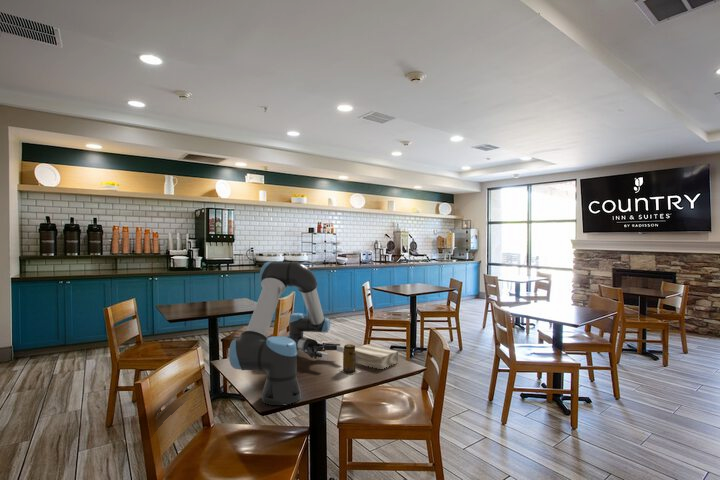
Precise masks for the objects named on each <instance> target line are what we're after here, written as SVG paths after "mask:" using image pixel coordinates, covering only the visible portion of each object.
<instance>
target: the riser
mask: <svg viewBox="0 0 720 480" xmlns="http://www.w3.org/2000/svg"><path fill="white" fill-rule="evenodd" d="M355 351H356V364H359V365H361V366H362V365H363V366H366V367H368V366H369V368H372V367H373V369H375V368H377V369H376V370H379V369H383V370H385V369H387V368H390V367H392V366H394V365H393V364H395V365H397V364H399V351H398V350H395V349H391V348H386V347H382V346H379V345H373V344H370V343H366V344H364V345H361V346H358V347H357V346H356V347H355ZM396 363H397V364H396ZM391 365H392V366H391ZM389 366H390V367H389ZM386 367H387V368H386ZM384 368H385V369H384Z"/></svg>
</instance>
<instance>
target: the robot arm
mask: <svg viewBox="0 0 720 480" xmlns="http://www.w3.org/2000/svg"><path fill="white" fill-rule="evenodd" d="M258 277H259V278H258V279H259V283H260V286H261V288H262V289H261V292H260V294H259V297H258V298H257V299H258V300H257V302H256V305H255V307H254V310H253V313H252V315H251V317H250V320H249V323H248V325H247V328H246V330H243V331H242V332H241V334H240V336H239V338H234V339H232V340H231V342H230V346H229V348H228V349H229V350H228V360H229V364H230V366H231V367H232V368H233V369H235V370H241V371H253V372H254V371H255V372H266V380H265V383H264V386H263V389H262V393H261V402H262V401H263V402H264V403H263V402H262V403H263V404H265V403H266V404H265V405H267V404H269V405H268V406H270V405H283V404H290V405H292V404H291V403H293V404H295V403H297V402H299V401H300V400H301V398H302V392H301V391H302V390H301V388H300V384H299V381H298V377H297V373H298V372H297V368H298V367H297V364H298V363H297V362H298V360H297V359H298V358H297V357H298V356H297V355H298V352H302V353H303V354H307V355H308V356H309V358H310V359H312V358H314V359H315V360H316V359H317V358H318V359H319V358H320V359H323V360H325V361H326V360H328V359H329V357H328V356H329V354H328V353H327V352H326V351H336V352H339V353H342V354H343V352H344V346H341V343H330V342H328V343H327V342H323V343H319V342H318V341H317V340H316V339H313V338H309V337H305V336H304V332H305V333H309V332H310V333H322V334H323V333H328V332H330V328H331V320H330V318H327V317H325V315H324V313H323V309H322V305H321V301H320V296H319V293H318V290H317V287H318V281H317V279H316V277H315V274H314V272H313V271H312V270H311V269H310V268H309V267H308V266H306V265H305V264H303V263H301V262H298V261H276V260H275V261H267V262H265V263H264V264H262V266H261V268H260V272H259V276H258ZM287 287H295V288H297V289H298V291H299V292H300V293H301V295H302V298H303V302H304V306H305V309H306V312H307V315H308V317H305V316H304V313H301V312H294V313H290V315H289V319H288V320H289V321H288V323H289V324H288V326H289V332H288V333H289V334H288V335H287V336H279V335H278V336H270V337H268V336H267V335H268V333H269V330H270V328H271V327H270V326H271V325H272V321H273V318H274V315H275V311H276V310H277V309H276V308H277V305H278V302H279V301H280V297H281V295H282V294H284V293H285V292H286V289H287ZM298 400H299V401H298ZM294 402H295V403H294Z"/></svg>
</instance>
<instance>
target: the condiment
mask: <svg viewBox="0 0 720 480" xmlns="http://www.w3.org/2000/svg"><path fill="white" fill-rule="evenodd" d="M343 347H344V352H343V353H342V368H341V369H339V371H340V372H342V373H344V374H347V375H355V374H359V373H361V372H362V371H361V370H358V369H357V368H356V367H357V366H356V364H357V363H356V351H355V348H356V346H355V344H350V343H349V344H345V345H344V346H343Z"/></svg>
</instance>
